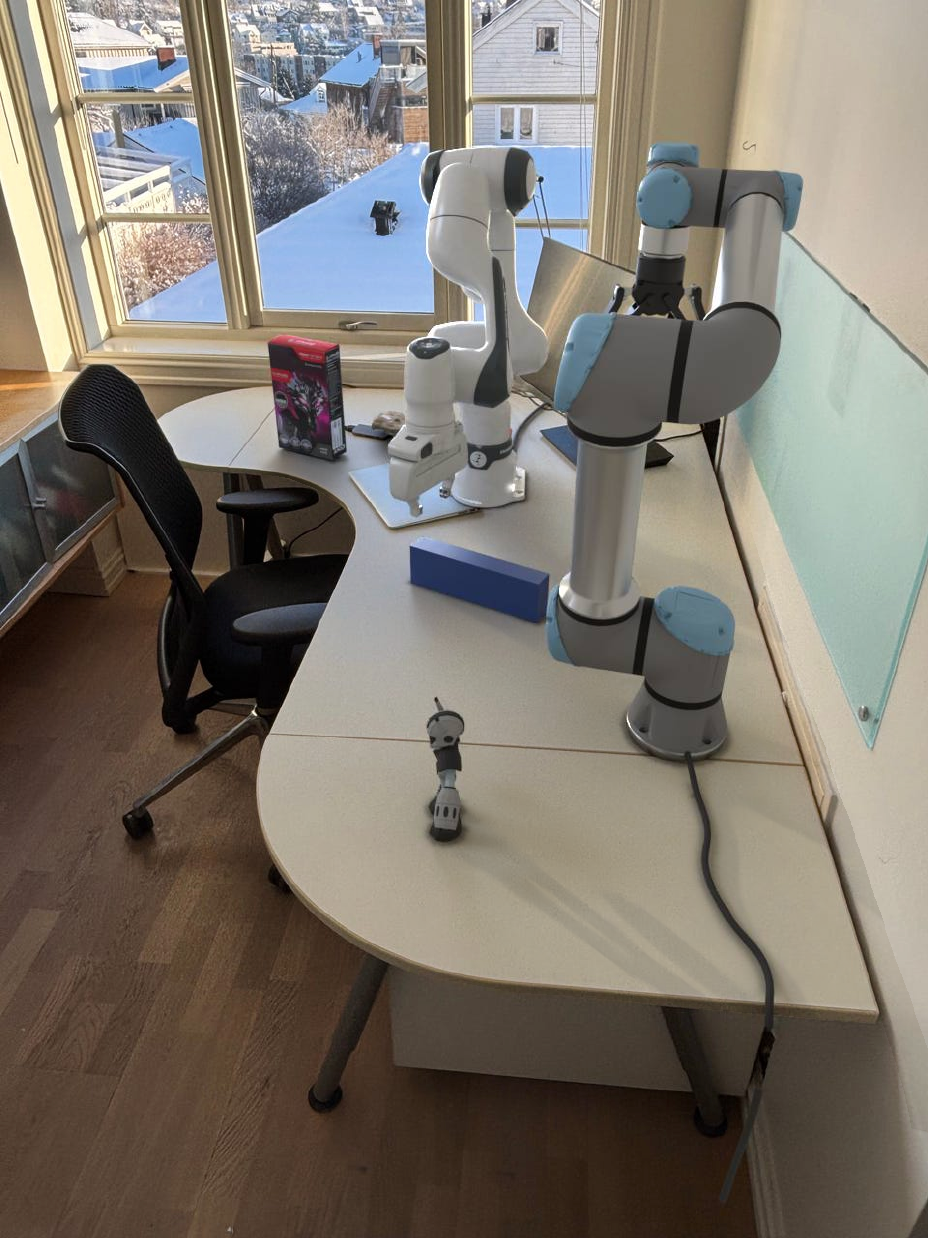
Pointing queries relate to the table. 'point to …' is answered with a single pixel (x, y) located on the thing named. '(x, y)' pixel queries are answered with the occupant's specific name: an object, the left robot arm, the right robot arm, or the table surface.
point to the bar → (479, 578)
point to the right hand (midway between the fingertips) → (645, 386)
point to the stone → (389, 422)
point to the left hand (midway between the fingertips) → (431, 505)
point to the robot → (446, 772)
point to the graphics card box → (308, 395)
